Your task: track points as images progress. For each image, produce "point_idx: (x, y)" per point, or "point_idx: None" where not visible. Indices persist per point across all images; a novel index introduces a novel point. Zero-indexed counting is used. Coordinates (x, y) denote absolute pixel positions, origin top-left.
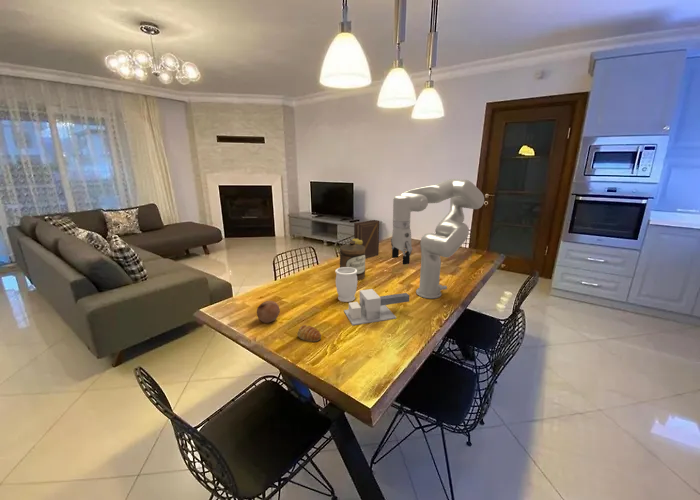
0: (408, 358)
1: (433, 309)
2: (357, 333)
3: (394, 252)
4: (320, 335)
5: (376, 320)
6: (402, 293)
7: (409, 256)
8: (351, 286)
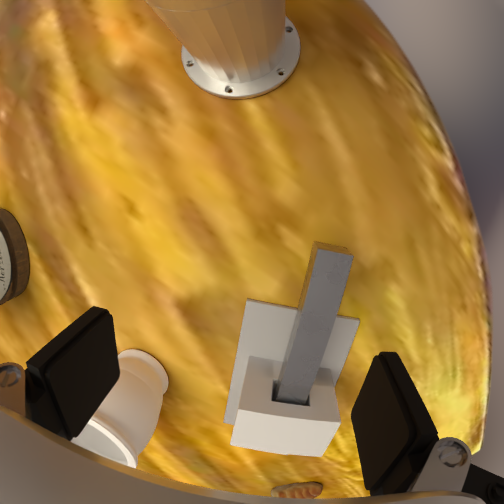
0: (482, 379)
1: (379, 136)
2: (350, 435)
3: (85, 406)
4: (319, 489)
5: (335, 384)
6: (313, 273)
7: (428, 419)
8: (154, 419)
